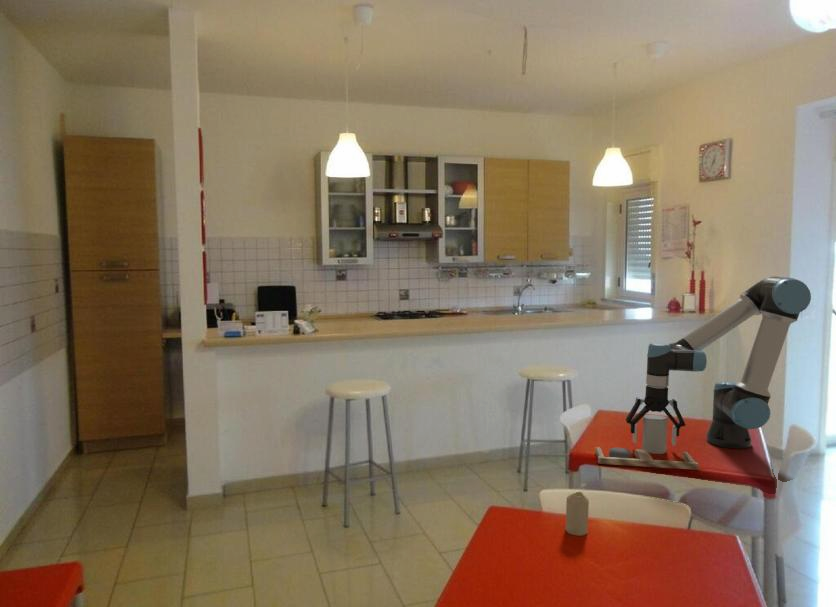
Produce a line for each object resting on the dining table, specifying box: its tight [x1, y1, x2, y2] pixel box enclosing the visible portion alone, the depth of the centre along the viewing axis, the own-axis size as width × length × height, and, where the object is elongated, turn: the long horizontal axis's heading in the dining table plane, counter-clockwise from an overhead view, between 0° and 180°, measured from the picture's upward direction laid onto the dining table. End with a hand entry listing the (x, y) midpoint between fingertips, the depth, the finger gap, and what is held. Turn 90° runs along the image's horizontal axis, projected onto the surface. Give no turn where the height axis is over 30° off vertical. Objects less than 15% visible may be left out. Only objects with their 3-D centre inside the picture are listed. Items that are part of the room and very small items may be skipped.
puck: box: [608, 447, 632, 458], centre depth 209 cm, size 7×7×3 cm
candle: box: [565, 491, 590, 537], centre depth 155 cm, size 6×6×10 cm
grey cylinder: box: [641, 414, 669, 455], centre depth 218 cm, size 8×8×12 cm
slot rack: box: [595, 446, 699, 471], centre depth 207 cm, size 32×12×2 cm, turn 81°
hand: (653, 443), depth 218 cm, fingers open, 13 cm apart
